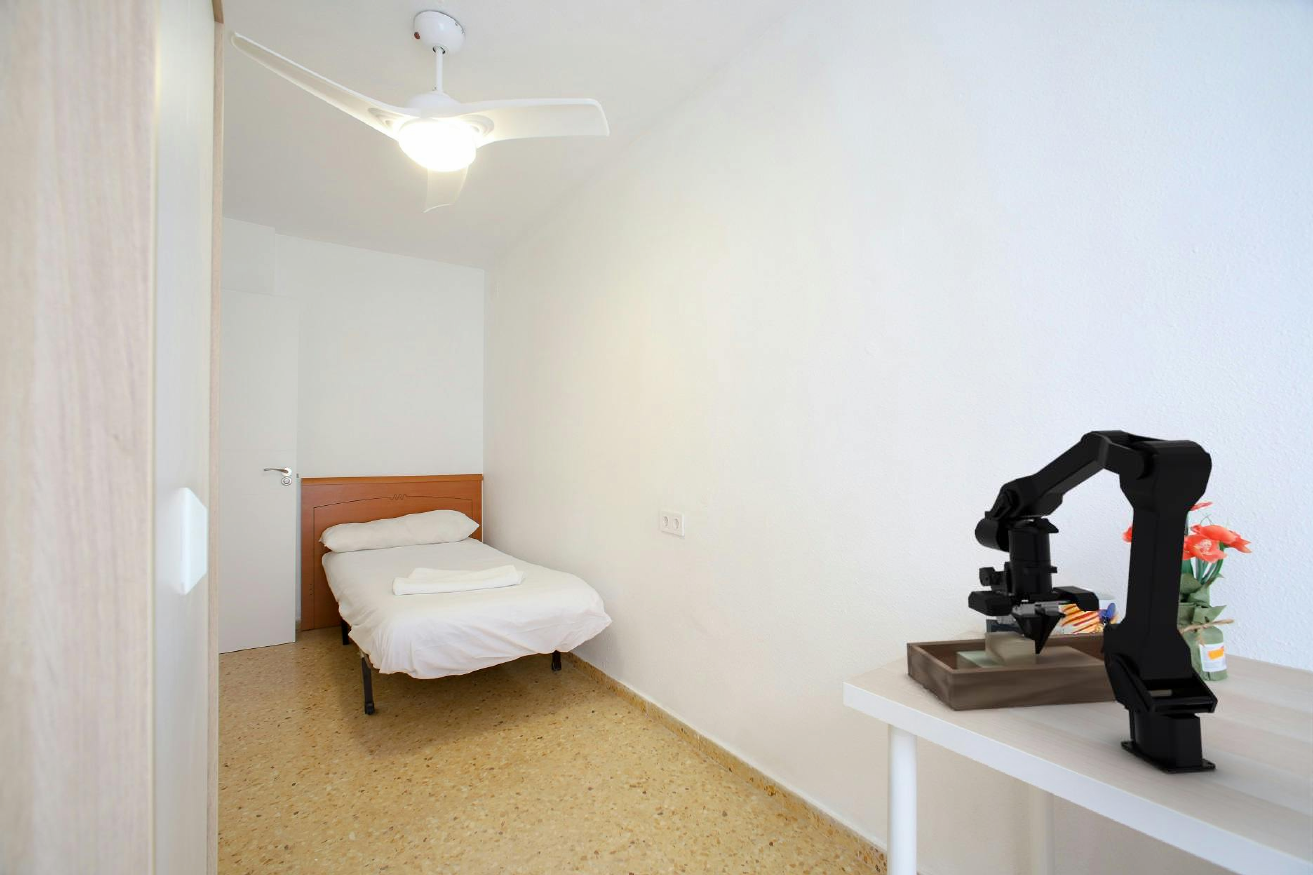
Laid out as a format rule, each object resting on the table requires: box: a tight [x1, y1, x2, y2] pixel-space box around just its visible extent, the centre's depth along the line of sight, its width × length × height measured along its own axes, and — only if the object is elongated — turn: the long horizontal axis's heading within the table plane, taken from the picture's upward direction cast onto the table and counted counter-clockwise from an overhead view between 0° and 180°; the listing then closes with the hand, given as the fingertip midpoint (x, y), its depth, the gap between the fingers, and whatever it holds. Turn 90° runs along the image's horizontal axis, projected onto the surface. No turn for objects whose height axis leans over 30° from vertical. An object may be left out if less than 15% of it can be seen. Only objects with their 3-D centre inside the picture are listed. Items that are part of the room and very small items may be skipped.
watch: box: [985, 591, 1024, 636], centre depth 116 cm, size 6×8×11 cm
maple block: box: [984, 631, 1036, 667], centre depth 93 cm, size 5×5×4 cm
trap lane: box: [906, 631, 1172, 712], centre depth 93 cm, size 14×36×6 cm, turn 93°
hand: (1035, 653), depth 93 cm, fingers closed
